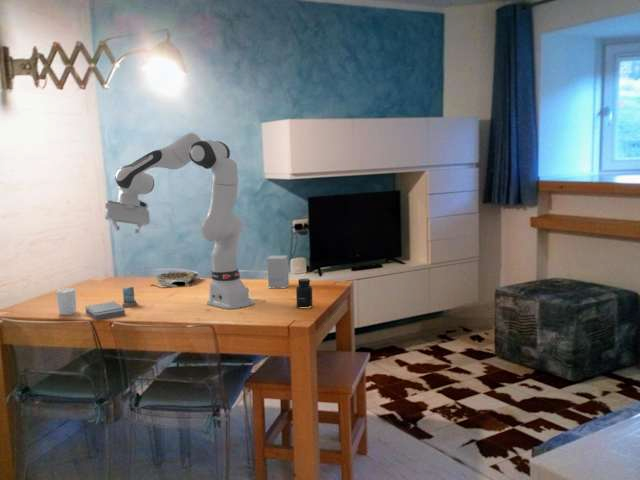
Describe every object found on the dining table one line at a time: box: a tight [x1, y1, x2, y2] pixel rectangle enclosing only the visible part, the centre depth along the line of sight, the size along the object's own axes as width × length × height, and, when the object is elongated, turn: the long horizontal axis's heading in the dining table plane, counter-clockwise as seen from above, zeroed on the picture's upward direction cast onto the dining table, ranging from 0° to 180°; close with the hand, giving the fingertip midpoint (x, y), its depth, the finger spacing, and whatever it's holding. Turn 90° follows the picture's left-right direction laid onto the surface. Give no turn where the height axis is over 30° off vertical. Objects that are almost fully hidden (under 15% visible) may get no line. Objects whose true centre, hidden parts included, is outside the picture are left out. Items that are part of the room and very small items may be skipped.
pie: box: [154, 271, 199, 289], centre depth 310 cm, size 28×27×5 cm
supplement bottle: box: [295, 278, 313, 308], centre depth 252 cm, size 7×7×12 cm
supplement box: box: [266, 255, 290, 289], centre depth 292 cm, size 9×9×15 cm
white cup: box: [55, 287, 77, 316], centre depth 254 cm, size 8×8×10 cm
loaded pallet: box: [121, 286, 137, 308], centre depth 265 cm, size 7×5×8 cm
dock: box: [84, 301, 126, 320], centre depth 251 cm, size 14×12×3 cm
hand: (127, 231), depth 272 cm, fingers open, 8 cm apart
